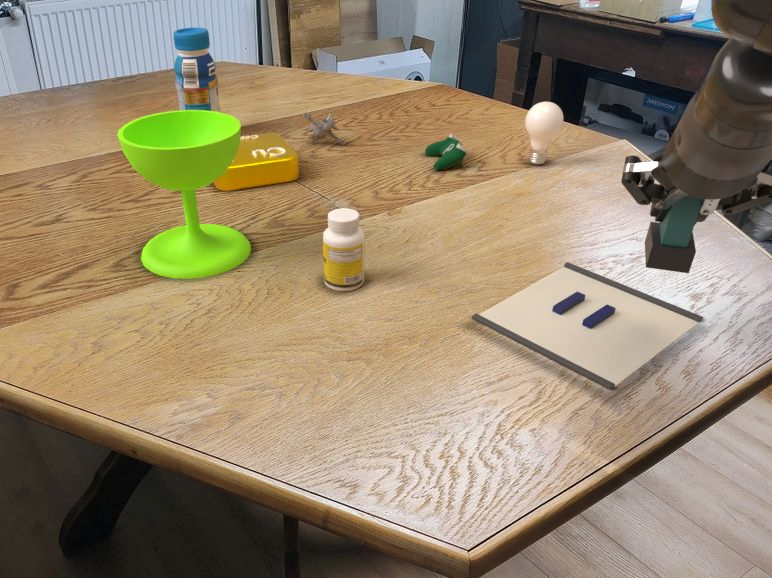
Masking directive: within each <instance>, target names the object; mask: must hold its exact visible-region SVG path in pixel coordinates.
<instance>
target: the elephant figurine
mask: <svg viewBox="0 0 772 578" xmlns="http://www.w3.org/2000/svg"><path fill="white" fill-rule="evenodd" d="M303 117H304V118H305V119H307V121H310V122H311V123H312V124H310V125H309V126H308V129H307V130H308V132H309V133H312V132H313V134H314V138H313V139H312V140H311V141H310V142H311V144H313V143H314V142H315V141H316V140H317V139H324V138H326V137H327V136H328V137H331V138H332V139H334V140H335V141H336V142H337V143H338V144H340V145H341V146H344V145H345V144H346V143H345V141H344V140H343V139H344V136H342V137H339V136H337V135H335V134H334V133H333V131H332V129H333V130H334V131H338V132H340V128H339V127H338V126H336V125H335V120H336V119H337V117H334V116H332V113H329V115H328V116H327V118H325V117H323V116H322V117H321V121H317V120H316V119H314V118H313V117H312V116H311V111H310V112H309V113H307V111H305V112H303Z"/></svg>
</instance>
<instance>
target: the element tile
mask: <svg viewBox="0 0 772 578" xmlns="http://www.w3.org/2000/svg"><path fill="white" fill-rule="evenodd" d="M299 173H300V172H299V154H298V153H297V152H296V151H295V149H293V147H292V146H291V145H290V144H289V143H288V142H287V141H286V140H285V139H284V137H283V136H282V135H280V134H279V133H277V132H265V133H259V134H258V133H257V134H251V135H242V136H241V135H240V145H239V148H238V151H237V154H236V157H235V158H234V160H233V162H232V163H231V165H230V166H229V167H228V169H227V170H226V172H225V173H224V174H223V175H222V176H220V177H219V178H218V179H216V180H215V181H214V182H213V183H212V184H214V186H215V188H216V189H217V190H219V191H223V192H231V191H238V190H244V189H246V190H247V189H252V188H257V187H259V188H260V187H265V186H273V185H278V184H285V183H290V182H294V181H296V180H298V179H299V177H300V174H299Z"/></svg>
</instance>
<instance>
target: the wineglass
mask: <svg viewBox="0 0 772 578" xmlns="http://www.w3.org/2000/svg"><path fill="white" fill-rule="evenodd" d="M241 131H242V125H241V121H240V120H239V119H238V118H237V117H235V116H234V115H231V114H228V113H224V112H221V111H220V112H216V111H207V110H180V109H179V110H170V111H163V112H157V113H153V114H152V113H151V114H148V115H144V116H142V117H138V118H136V119H132V120H131V121H129V122H126V123H125V124H124V125H122V126H121V127H120V128H118V131H117V139H118V142H119V145H120V148H121V151H122V152H123V154H124V156H125V157H126V159H127V161H128V162H129V164H130V166H131V167H132V169H133V170H134V171H136V172H137V173H138V174H139V176H141V177H142V178H143V179H145V180H146V181H148V182H149V183H151V184H153V185H156V187H157V186H158V187H160V188H162V189H164V190H168V191H178V192H179V191H180V193H181V199H182V206H183V213H184V219H185V225H180V226H176V227H172V228H170V229H167V230H164V231H163V232H160V233H158V234H156V235H155V236H153V237H152V238H151V239H150V240H149V241H147V243H146V244H145V245H144V247H143V248H142V251H141V257H140V261H141V263H142V265H143V266H144V268H146V269H147V270H148V271H149V272H151V273H154V274H155V275H157V276H160V277H166V278H169V279H177V280H178V279H179V280H181V279H183V280H192V279H204V278H209V277H213V276H214V277H215V276H217V275H221V274H224V273H227V272H229V271H232V270H233V269H235V268H237V267H239V266H240V265H242V264H243V263H244V262H245V261H246V260H247V259H248V258H249V257H250V255H251V251H252V247H251V242H250V241H249V239H248V238H247V237H246V235H245V234H244V233H242V232H241V231H239V230H237V229H236V228H233V227H230V226H228V225H222V224H217V223H200V216H199V211H198V210H199V209H198V201H197V194H196V190H198V189H202V188H205V187H207V186H210V185H211V184H214V183H213V182H214V181H215V180H216V179H218V178H219V177H220V176H222V175H223V174H224V173H225V172H226V170H227V169H228V167H229V166H230V165H231V163H232V162H233V160H234V158H235V157H236V154H237V151H238V148H239V145H240V137H241Z"/></svg>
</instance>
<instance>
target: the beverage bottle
mask: <svg viewBox="0 0 772 578" xmlns="http://www.w3.org/2000/svg"><path fill="white" fill-rule="evenodd" d="M209 33H210V32H209V30H208V29H207V28H204V27H183V28H179V29H175V30H174V31H173V36H172V37H173V42H174V43H173V45H174V48H175V50H176V52H178V54H177V56H176V58H175V60H174V66H173V69H174V70H173V71H174V73H175V76H176V77H175V81H174V83H175V89H176V93H177V101H178V109H179V111H180V110H207V111H216V112H221V105H220V96H219V79H218V76H217V74H216V70H217V66H216V63H215V60H214V58H213V57H212V55H211V53H210V52H209V51H208V50H209V49H210V44H211V43H210V42H211V41H210V34H209Z"/></svg>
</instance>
